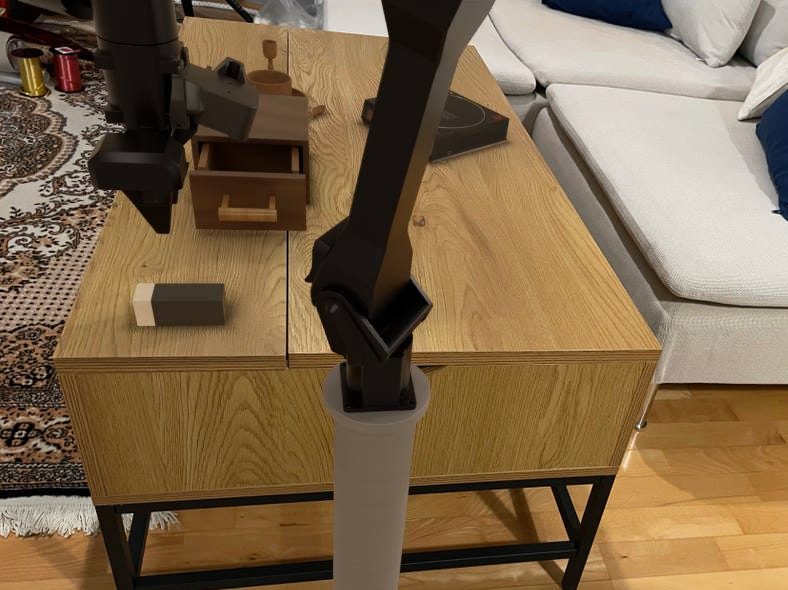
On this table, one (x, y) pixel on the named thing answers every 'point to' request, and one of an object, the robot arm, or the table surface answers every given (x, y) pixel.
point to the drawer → (248, 188)
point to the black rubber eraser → (180, 304)
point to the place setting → (276, 78)
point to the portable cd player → (459, 127)
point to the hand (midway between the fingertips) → (167, 217)
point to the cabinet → (269, 130)
